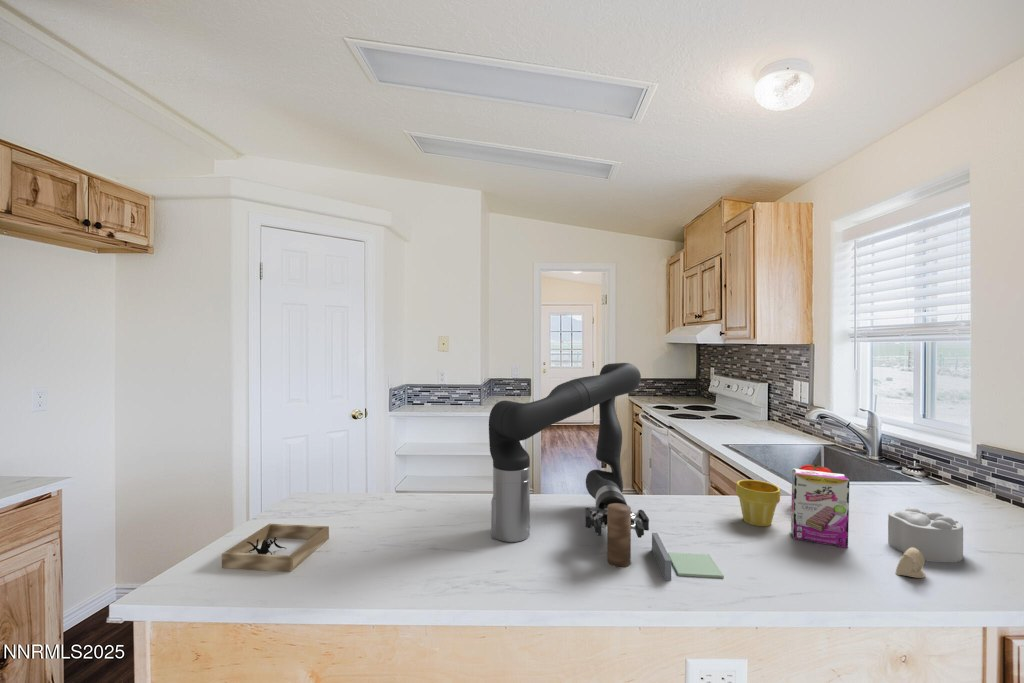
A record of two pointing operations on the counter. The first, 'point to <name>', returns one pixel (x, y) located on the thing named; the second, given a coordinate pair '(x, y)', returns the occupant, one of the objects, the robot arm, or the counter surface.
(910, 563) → the decorative ornament
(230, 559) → the wooden frame
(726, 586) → the counter surface
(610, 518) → the walnut canister
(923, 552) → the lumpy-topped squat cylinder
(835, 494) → the candy bar box
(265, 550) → the creature
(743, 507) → the plant pot
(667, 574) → the low wall
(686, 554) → the pad
